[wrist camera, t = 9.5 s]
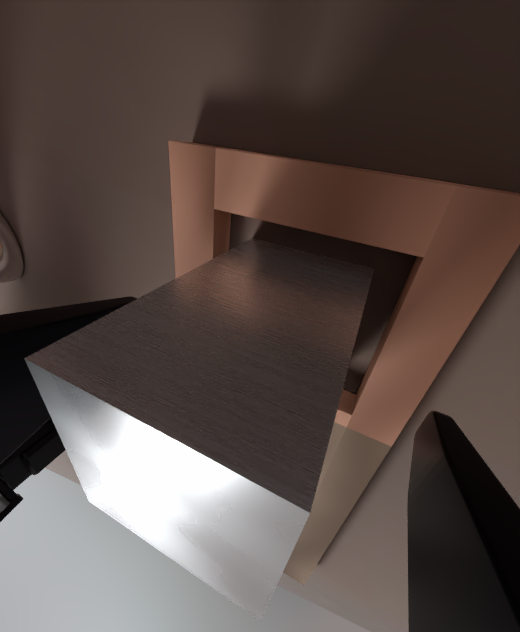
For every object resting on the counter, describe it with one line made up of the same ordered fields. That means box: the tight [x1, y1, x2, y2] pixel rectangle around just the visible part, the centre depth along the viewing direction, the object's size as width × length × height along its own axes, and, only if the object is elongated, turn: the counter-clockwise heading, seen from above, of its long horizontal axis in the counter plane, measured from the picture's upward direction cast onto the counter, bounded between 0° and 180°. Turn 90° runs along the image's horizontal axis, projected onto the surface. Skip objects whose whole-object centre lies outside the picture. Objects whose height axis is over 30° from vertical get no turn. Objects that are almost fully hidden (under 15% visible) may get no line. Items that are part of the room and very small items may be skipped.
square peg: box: [24, 238, 374, 620], centre depth 8 cm, size 4×4×8 cm
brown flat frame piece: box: [169, 141, 520, 585], centre depth 15 cm, size 10×26×1 cm, turn 173°
